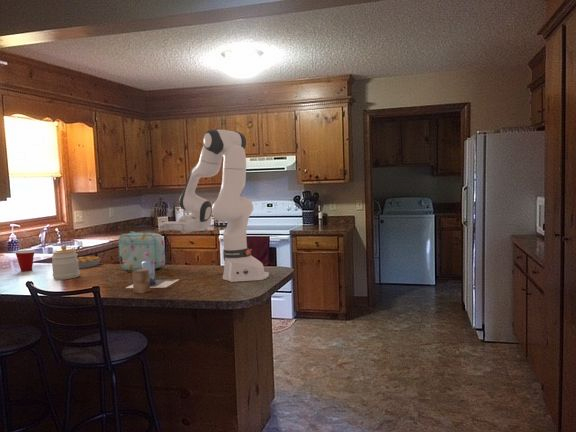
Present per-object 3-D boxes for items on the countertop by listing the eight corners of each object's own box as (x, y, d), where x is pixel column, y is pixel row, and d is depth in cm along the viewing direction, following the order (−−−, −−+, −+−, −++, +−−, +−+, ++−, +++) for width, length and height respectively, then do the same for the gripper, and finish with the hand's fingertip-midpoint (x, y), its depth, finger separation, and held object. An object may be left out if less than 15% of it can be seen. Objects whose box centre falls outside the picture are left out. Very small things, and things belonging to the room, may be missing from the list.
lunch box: (116, 270, 263) (112, 233, 261) (127, 267, 273) (124, 230, 271) (157, 271, 255) (154, 232, 253) (167, 267, 265) (164, 229, 263)
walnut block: (142, 290, 211) (140, 268, 210) (150, 291, 209) (148, 269, 208) (133, 293, 207) (131, 271, 206) (141, 294, 204) (139, 271, 203)
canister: (157, 283, 223) (156, 260, 222) (151, 285, 218) (149, 262, 217) (147, 283, 224) (145, 260, 223) (141, 285, 219) (139, 262, 218)
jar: (69, 280, 244) (66, 246, 243) (47, 280, 247) (44, 247, 245) (85, 274, 257) (81, 242, 255) (64, 274, 259) (61, 243, 258)
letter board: (179, 280, 229) (179, 279, 229) (165, 288, 213) (165, 287, 213) (141, 280, 232) (141, 279, 232) (125, 288, 217) (125, 287, 217)
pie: (57, 266, 288) (56, 258, 287) (94, 261, 302) (93, 253, 301) (68, 271, 271) (67, 262, 271) (106, 265, 285) (105, 256, 285)
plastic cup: (36, 270, 276) (34, 250, 275) (15, 273, 273) (13, 252, 272) (38, 267, 287) (36, 248, 286) (18, 270, 283) (16, 250, 282)
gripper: (170, 218, 245) (150, 221, 233) (200, 218, 235) (181, 221, 223) (171, 230, 246) (151, 233, 234) (201, 230, 235) (182, 234, 224)
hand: (166, 227), depth 228 cm, fingers open, 8 cm apart
